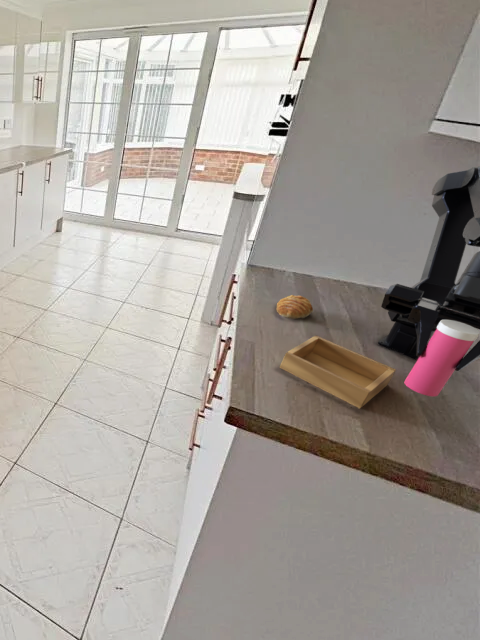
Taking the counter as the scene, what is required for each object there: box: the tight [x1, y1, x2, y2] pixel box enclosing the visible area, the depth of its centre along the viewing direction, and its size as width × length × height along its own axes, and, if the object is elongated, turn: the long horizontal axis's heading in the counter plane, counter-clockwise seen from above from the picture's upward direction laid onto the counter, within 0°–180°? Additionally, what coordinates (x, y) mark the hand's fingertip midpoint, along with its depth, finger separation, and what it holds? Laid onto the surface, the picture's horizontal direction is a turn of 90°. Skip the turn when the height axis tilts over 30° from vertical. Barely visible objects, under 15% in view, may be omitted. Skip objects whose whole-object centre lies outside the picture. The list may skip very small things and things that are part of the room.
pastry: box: [276, 294, 314, 320], centre depth 100 cm, size 9×7×4 cm
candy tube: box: [404, 320, 480, 397], centre depth 65 cm, size 4×4×12 cm
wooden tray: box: [279, 335, 397, 409], centre depth 77 cm, size 13×13×4 cm
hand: (437, 362), depth 64 cm, fingers closed on candy tube, 4 cm apart
